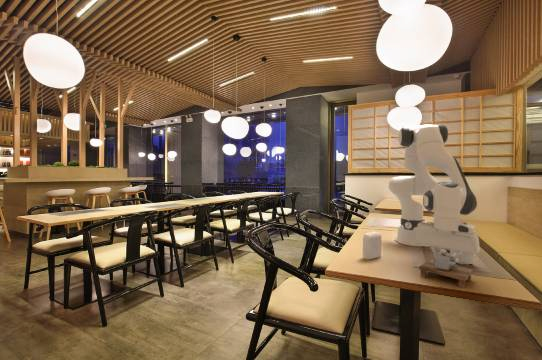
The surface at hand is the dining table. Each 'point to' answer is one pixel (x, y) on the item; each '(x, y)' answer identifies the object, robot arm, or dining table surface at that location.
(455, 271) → the stand
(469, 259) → the skincare box
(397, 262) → the dining table surface
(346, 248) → the dining table surface
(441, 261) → the plate
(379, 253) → the photo printer
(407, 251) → the dining table surface
